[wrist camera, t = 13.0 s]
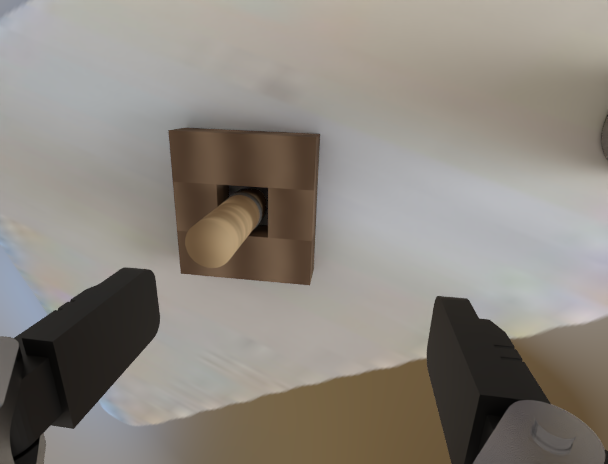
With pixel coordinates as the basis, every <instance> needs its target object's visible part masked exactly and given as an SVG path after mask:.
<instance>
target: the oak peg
mask: <svg viewBox="0 0 608 464" xmlns="http://www.w3.org/2000/svg"><path fill="white" fill-rule="evenodd" d="M266 205H267V201H266V197H265V195H264V194H263V193H262V192H261V191H260V190H258V189H255V188H249V189H242V190H239V191H238V192H236V193H235V194H232V195H231V196H230V197H228V198H227V199H226V200H225V201H224V202H223V203H222V204H221V205H219V206H218V207H217V208H216V209H214V210H213V211H212V212H210V213H209V214H208V215H206V216H205V217H204V218H203V219H201V220H200V221H199V222H197V223H196V224H195V225H194V226H192V227H191V228H190V229H189V231H188V232H187V234H186V238H185V246H186V250H187V252H188V254H189V256H190V257H191V258H192V259H193V260H194V261H195V262H196V263H198V264H199V265H201V266H203V267H207V268H218V267H221V266H223V265H225V264H226V263H227V262H228V261H229V260H230V258H231V257H232V256H233V255H234V253H235V252H236V251H237V250H238V248H239V247H240V246H241V244H242V243H243V242H244V241H245V239H246V238H247V237H248V236H249V234H250V233H251V232H252V230H254V229H255V228H256V227H257V226H258V224H259V223H260V221H261V219H262V218H263V216H264V215H265V212H266Z"/></svg>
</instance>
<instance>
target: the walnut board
mask: <svg viewBox="0 0 608 464" xmlns="http://www.w3.org/2000/svg"><path fill="white" fill-rule="evenodd" d="M169 141H170V153H171V164H172V176H173V187H174V199H175V210H176V222H177V234H178V245H179V257H180V268H181V274H192V275H203V276H214V277H225V278H236V279H247V280H259V281H270V282H281V283H292V284H303V285H310V282H311V278H312V274H313V269H314V248H315V227H316V206H317V185H318V163H319V142H320V134H309V133H287V132H266V131H244V130H222V129H200V128H181V129H174V130H169ZM229 185H234V186H250V187H266V188H268V225H258V226H257V227H256V228H255V229H254V230H252V232H251V233H250V234H249V236H248V237H247V238H246V239H245V241H244V242H243V243H242V244H241V246H240V247H239V248H238V250H237V251H236V252H235V253H234V255H233V256H232V257H231V258H230V260H229V261H228V262H227V263H226V264H225V265H223V266H221V267H218V268H207V267H203V266H201V265H199V264H198V263H196V262H195V261H194V260H193V259H192V258H191V257H190V256H189V254H188V252H187V250H186V246H185V238H186V234H187V232H188V231H189V229H190V228H191V227H192V226H194V225H195V224H196V223H197V222H199V221H200V220H201V219H203V218H204V217H205V216H206V215H208V214H209V213H210V212H212V211H213V210H214V209H216V208H217V207H218V206H219V205H221V204H222V203H223V202H224V201H225V200H226V199H227V198H228V197H229Z"/></svg>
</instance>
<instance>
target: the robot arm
mask: <svg viewBox="0 0 608 464" xmlns="http://www.w3.org/2000/svg"><path fill="white" fill-rule="evenodd" d="M602 147H603V150H604V154H605V156H606V157H607V159H608V116H607V119H606V121H605V124H604V126H603V132H602ZM159 324H160V313H159V305H158V297H157V288H156V280H155V276H154V273H153V272H152V271H151V270H148V269H137V268H122V269H120V270H119V271H118V272H116V273H115V274H113V275H112V276H110V277H109V278H107V279H106V280H104V281H103V282H102V283H100V284H98V285H96V286H94V287H91V288H89V289H86V290H84V291H83V292H81V293H80V294H78V295H77V296H76V297H74V298H73V299H71V301H70V302H67V303H65V304H64V305H62V306H61V307H59V308H58V311H57V310H55V311H53V312H52V313H50V314H49V315H47V316H46V317H45V318H43V319H42V320H40V321H39V322H37V323H36V324H34V325H33V326H31V327H30V328H29V329H27V330H25V331H24V332H22V333H21V334H19V335H18V336H16V337H15V338H11V337H0V464H44V457H45V449H46V440H45V436H44V432H45V430H46V429H47V428H48V427H49V426H50V425H53V426H59V427H66V428H72V429H74V428H75V427H76V425H77V424H78V423H79V422H80V421H81V420H82V419H83V418H84V416H85V415H86V414H87V413H88V412H89V411H90V410H91V409H92V407H93V406H94V405H95V404H96V403H97V402H98V401H99V399H100V398H101V397H102V396H103V395H104V394H105V393H106V392H107V390H108V389H109V388H110V387H111V386H112V385H113V384H114V382H115V381H116V380H117V379H118V378H119V377H120V376H121V375H122V373H123V372H124V371H125V370H126V369H127V368H128V367H129V365H130V364H131V363H132V362H133V361H134V360H135V359H136V358H137V356H138V355H139V354H140V353H141V352H142V351H143V350H144V348H145V347H146V346H147V345H148V344H149V343H150V342H151V341H152V339H153V338H154V337H155V335H156V333H157V331H158V328H159ZM427 367H428V372H429V376H430V380H431V384H432V388H433V392H434V396H435V399H436V404H437V408H438V412H439V416H440V420H441V424H442V427H443V431H444V435H445V439H446V443H447V447H448V451H449V455H450V459H451V463H452V464H608V451H607V450H604V447H603V445H602V443H601V441H600V440H599V438H598V436H597V435H596V434H595V433H594V432H593V431H592V430H591V429H590V428H589V427H588V426H587V425H586V424H585V423H584V422H582V421H581V420H580V419H578V418H577V417H575V416H574V415H572V414H571V413H569V412H567V411H565V410H563V409H561V408H559V407H557V406H554V405H551V404H550V402H549V400H548V399H547V397H546V396H545V394H544V393H543V391H542V389H541V388H540V386H539V385H538V383H537V381H536V380H535V378H534V377H533V375H532V374H531V372H530V371H529V369H528V367H527V366H526V364H525V363H524V362H522V358H521V356H520V355H519V353H518V351H517V350H515V349H514V345H513V344H512V342H511V340H510V339H509V337H508V336H507V334H506V333H505V332H504V331H503V330H502V329H500V328H499V327H498V326H497V325H495V324H494V323H493V322H492V321H490V320H487V319H479V318H478V316H477V314H476V312H475V310H474V309H473V307H472V305H471V303H470V301H469V300H468V299H466V298H454V297H443V296H437V297H436V300H435V303H434V308H433V315H432V321H431V327H430V333H429V339H428V346H427Z"/></svg>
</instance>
